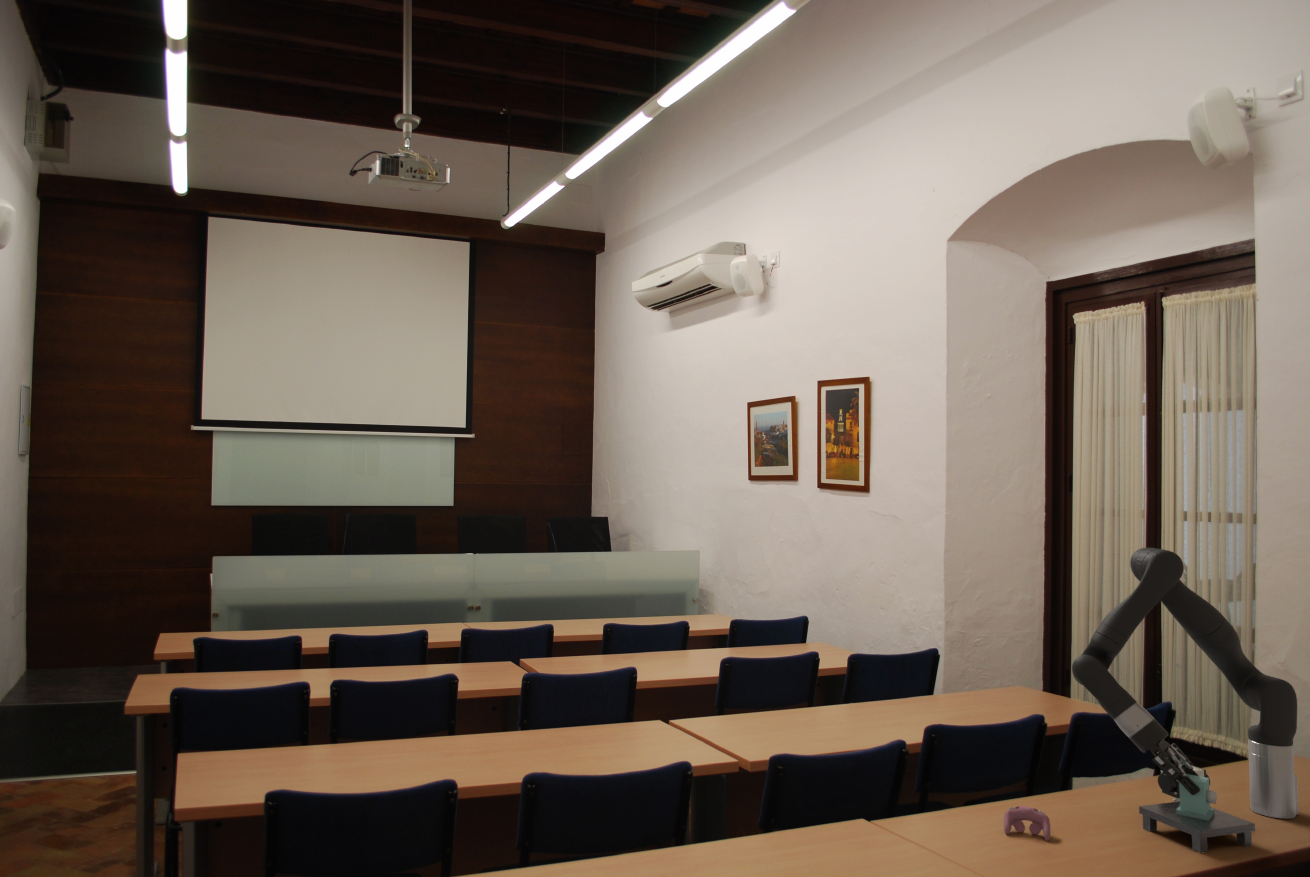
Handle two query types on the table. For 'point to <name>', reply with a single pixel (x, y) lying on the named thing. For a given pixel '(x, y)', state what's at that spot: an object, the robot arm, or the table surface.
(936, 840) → the table surface
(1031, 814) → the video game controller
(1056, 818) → the table surface
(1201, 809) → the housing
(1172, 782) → the pneumatic valve
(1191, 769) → the robot arm
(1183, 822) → the stand
